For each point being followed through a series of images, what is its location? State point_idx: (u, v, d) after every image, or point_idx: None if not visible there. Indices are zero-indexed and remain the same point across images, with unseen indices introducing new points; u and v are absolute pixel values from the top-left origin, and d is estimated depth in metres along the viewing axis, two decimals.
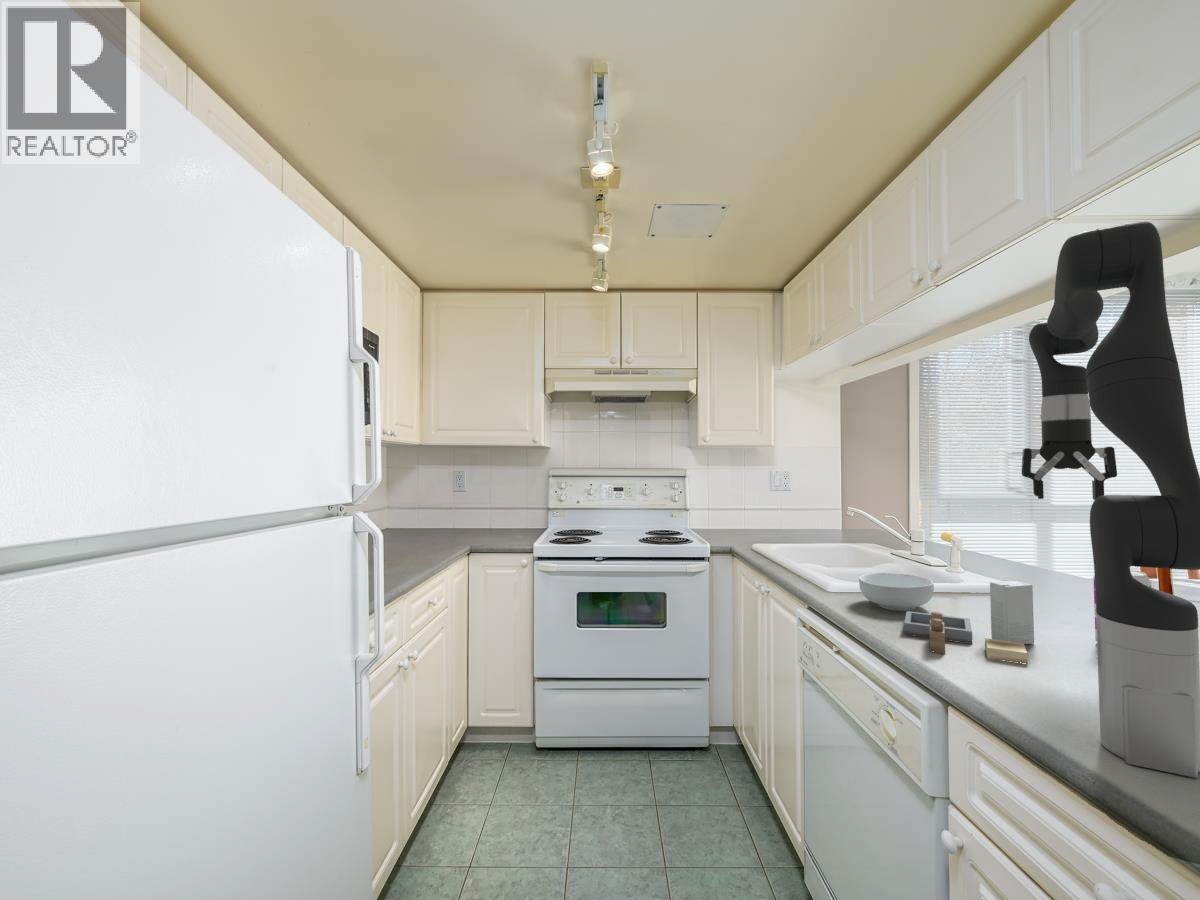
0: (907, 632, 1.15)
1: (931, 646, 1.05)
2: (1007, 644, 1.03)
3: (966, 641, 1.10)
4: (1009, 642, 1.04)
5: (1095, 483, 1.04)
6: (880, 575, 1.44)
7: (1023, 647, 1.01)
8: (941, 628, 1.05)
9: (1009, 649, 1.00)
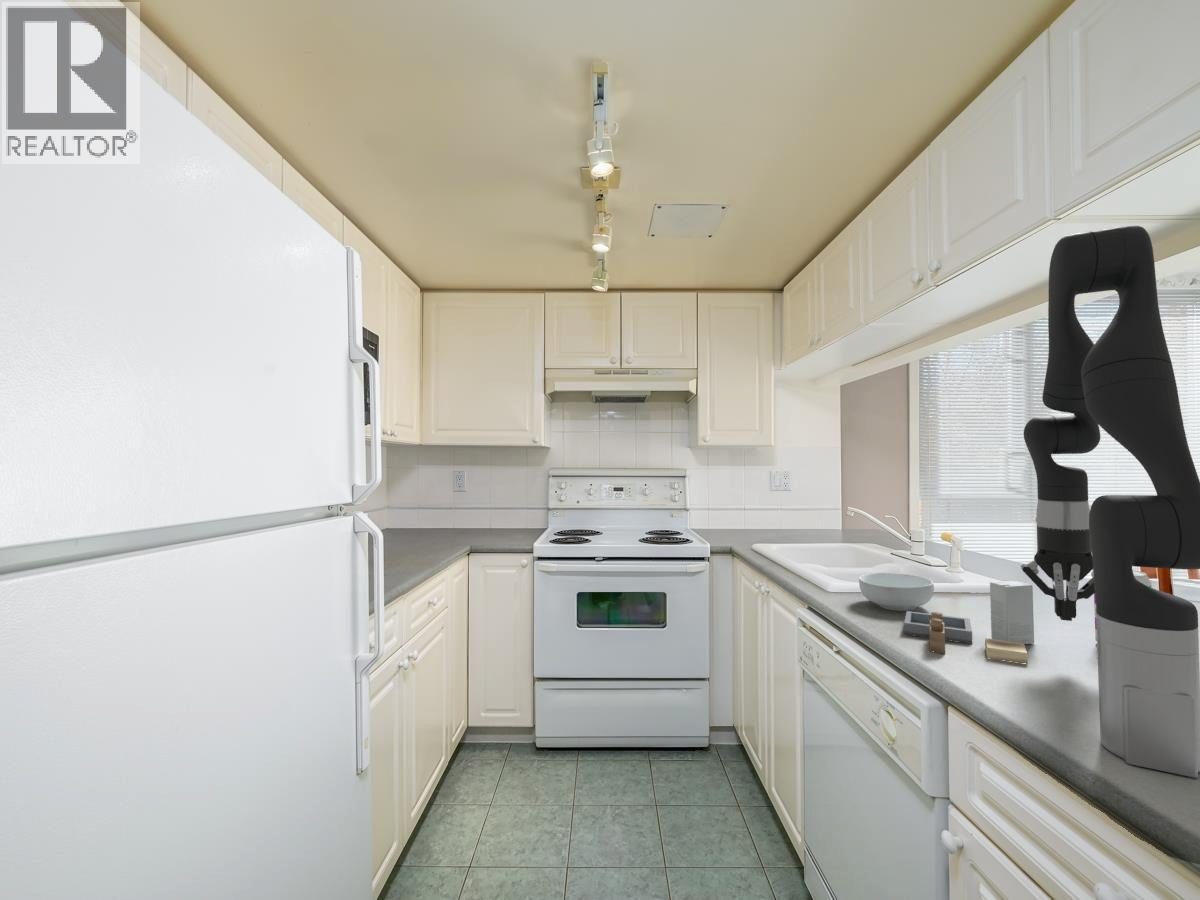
0: (907, 632, 1.15)
1: (931, 646, 1.05)
2: (1007, 644, 1.03)
3: (966, 641, 1.10)
4: (1009, 642, 1.04)
5: (1067, 603, 0.97)
6: (880, 575, 1.44)
7: (1023, 647, 1.01)
8: (941, 628, 1.05)
9: (1009, 649, 1.00)
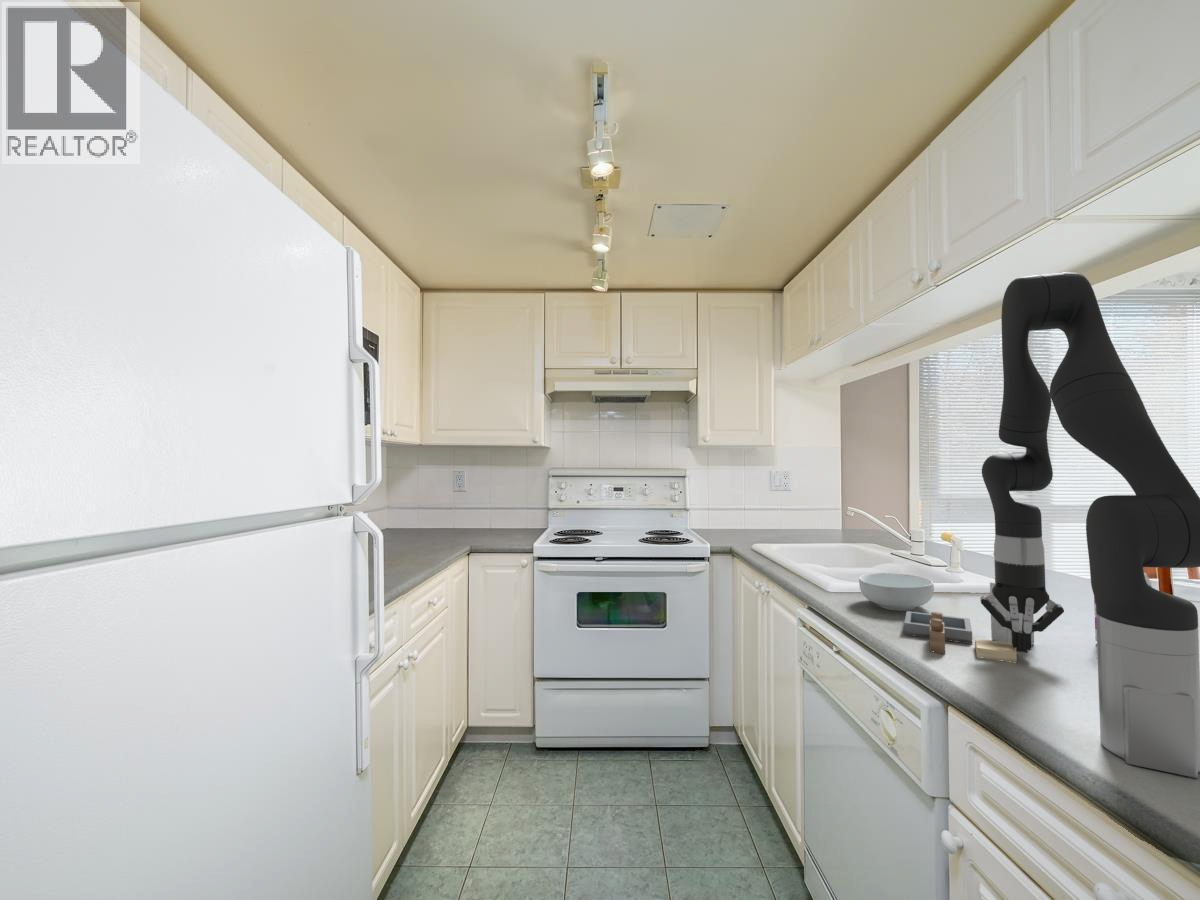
0: (907, 632, 1.15)
1: (931, 646, 1.05)
2: (997, 644, 1.04)
3: (966, 641, 1.10)
4: (999, 642, 1.04)
5: (1022, 635, 1.00)
6: (880, 575, 1.44)
7: (1012, 647, 1.02)
8: (941, 628, 1.05)
9: (998, 649, 1.01)
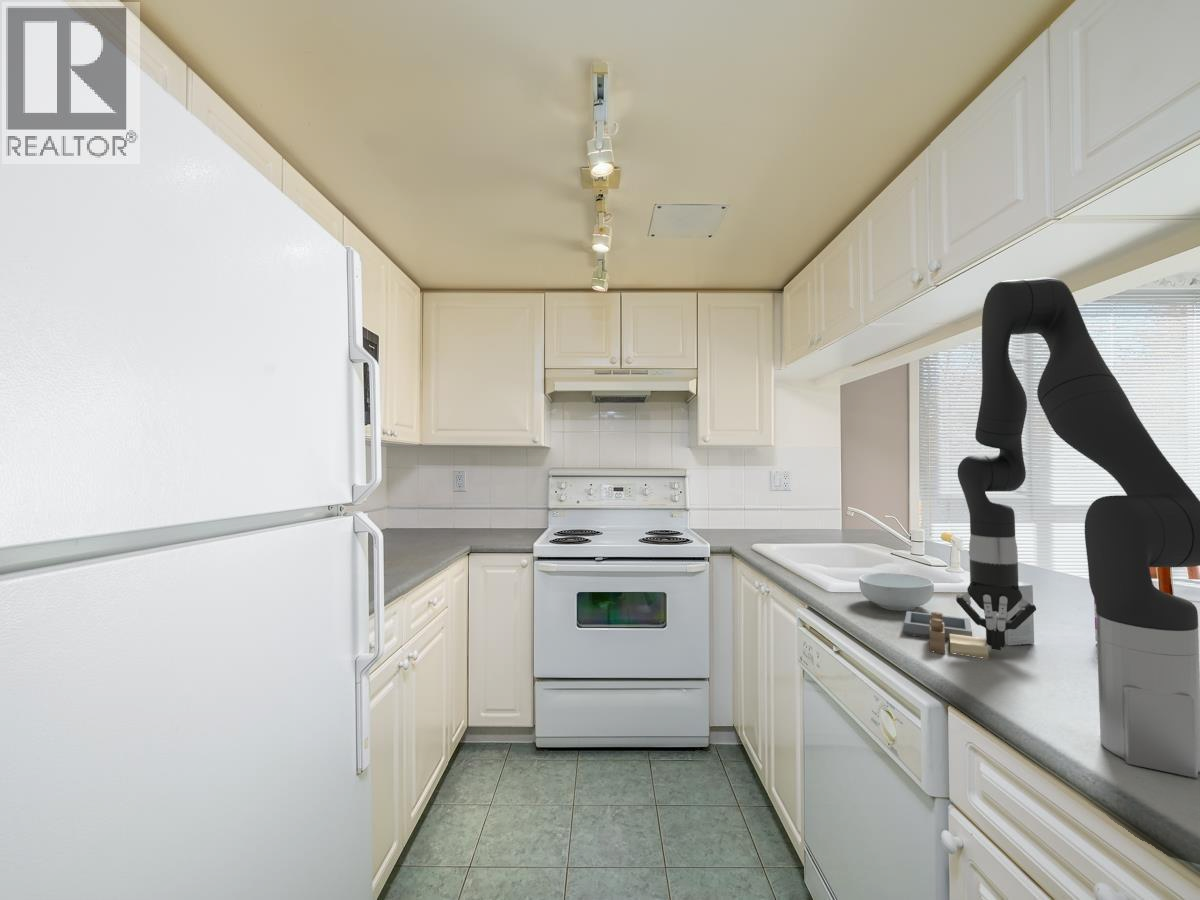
0: (907, 632, 1.15)
1: (931, 646, 1.05)
2: (970, 639, 1.06)
3: None
4: (972, 637, 1.07)
5: (996, 633, 1.02)
6: (880, 575, 1.44)
7: (985, 642, 1.04)
8: (941, 628, 1.05)
9: (970, 644, 1.03)
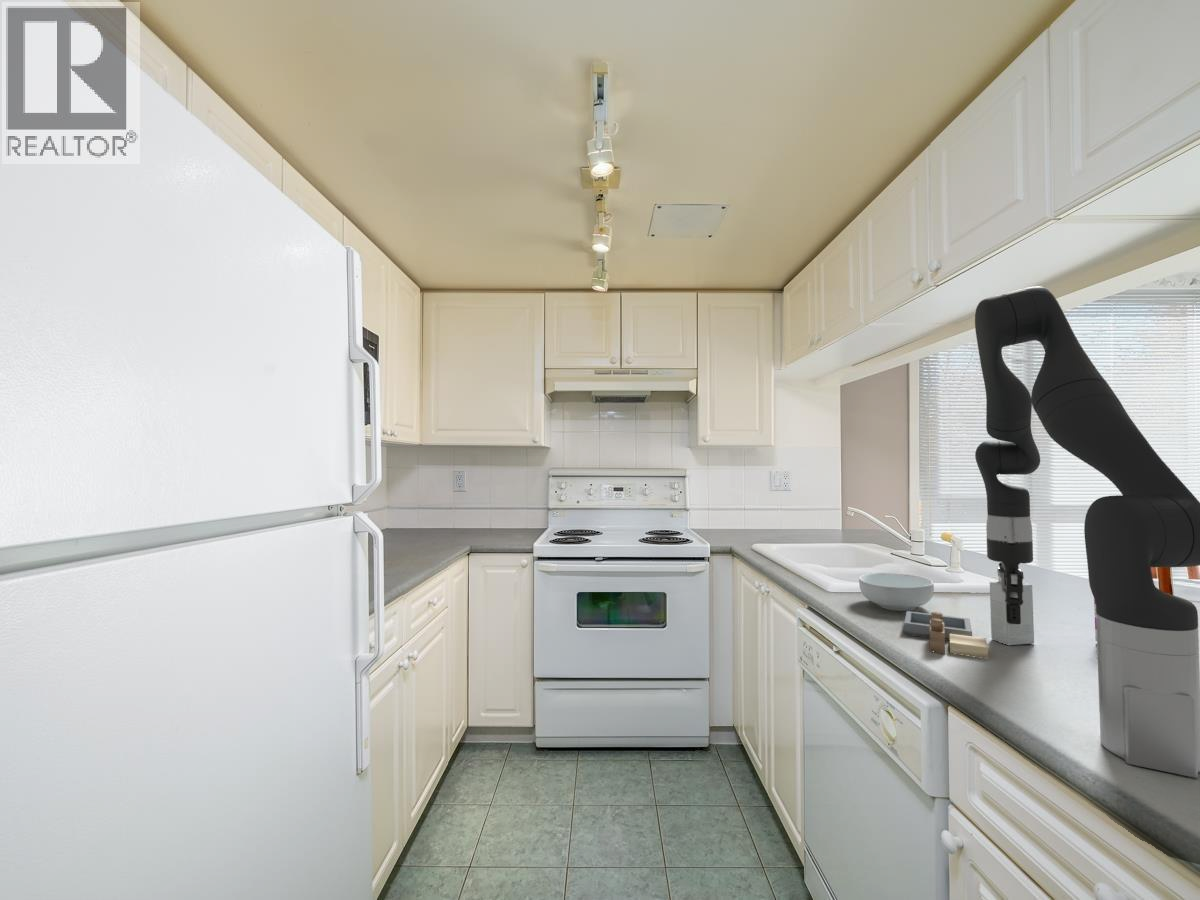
0: (907, 632, 1.15)
1: (931, 646, 1.05)
2: (970, 639, 1.06)
3: None
4: (972, 637, 1.07)
5: None
6: (880, 575, 1.44)
7: (985, 642, 1.04)
8: (941, 628, 1.05)
9: (970, 644, 1.03)
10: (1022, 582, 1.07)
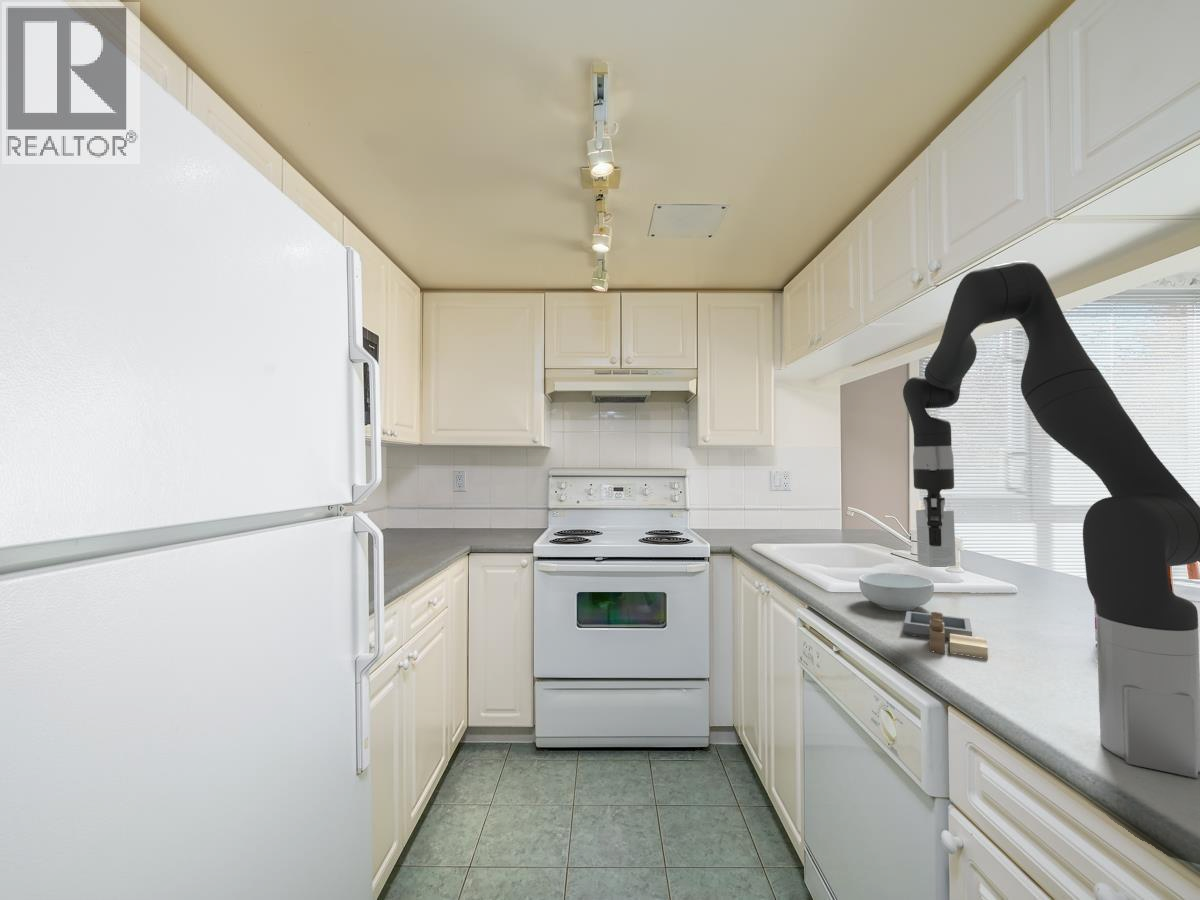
0: (907, 632, 1.15)
1: (931, 646, 1.05)
2: (970, 639, 1.06)
3: None
4: (972, 637, 1.07)
5: None
6: (880, 575, 1.44)
7: (985, 642, 1.04)
8: (941, 628, 1.05)
9: (970, 644, 1.03)
10: (943, 507, 1.14)
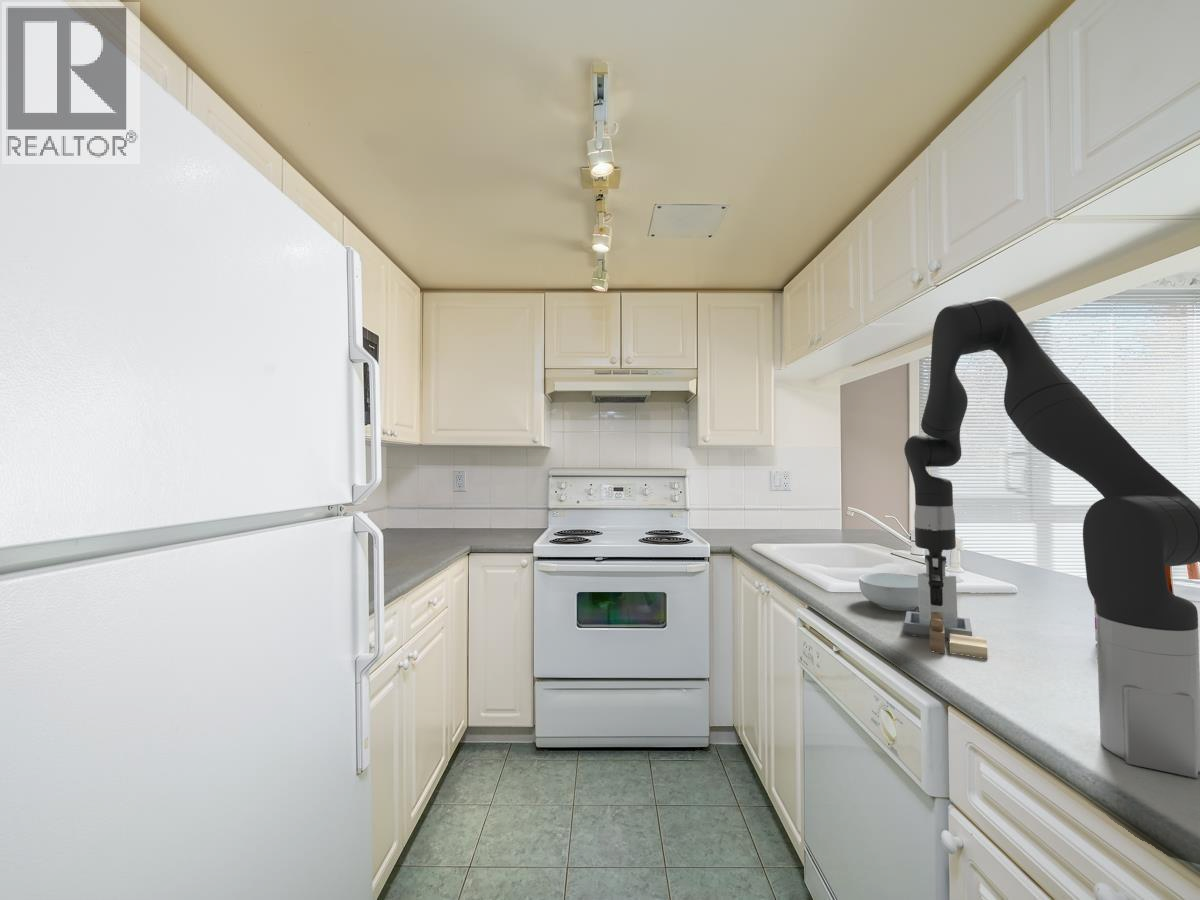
0: (907, 632, 1.15)
1: (931, 646, 1.05)
2: (970, 639, 1.06)
3: None
4: (972, 637, 1.07)
5: None
6: (880, 575, 1.44)
7: (985, 642, 1.04)
8: (941, 628, 1.05)
9: (970, 644, 1.03)
10: None
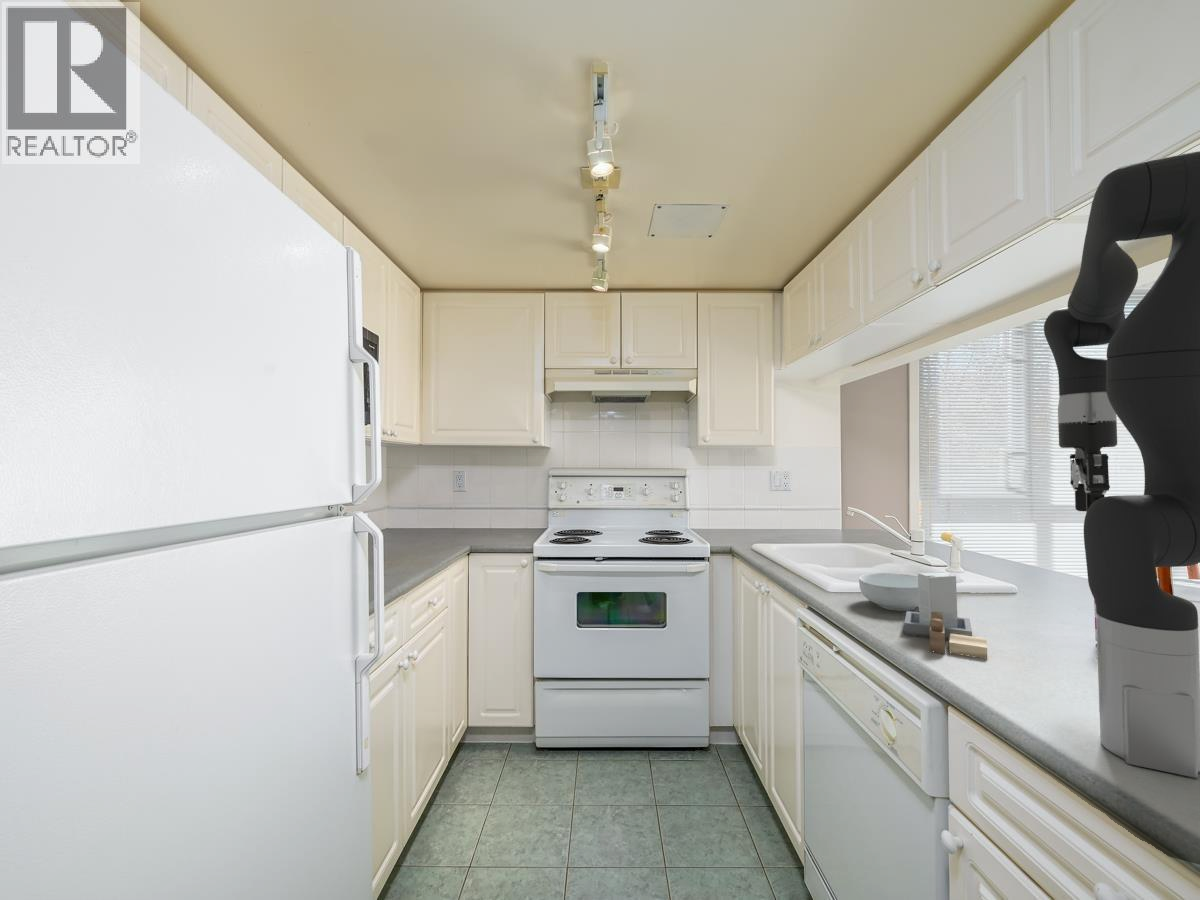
0: (907, 632, 1.15)
1: (931, 646, 1.05)
2: (970, 639, 1.06)
3: None
4: (973, 637, 1.07)
5: None
6: (880, 575, 1.44)
7: (985, 642, 1.04)
8: (941, 628, 1.05)
9: (969, 644, 1.03)
10: None
